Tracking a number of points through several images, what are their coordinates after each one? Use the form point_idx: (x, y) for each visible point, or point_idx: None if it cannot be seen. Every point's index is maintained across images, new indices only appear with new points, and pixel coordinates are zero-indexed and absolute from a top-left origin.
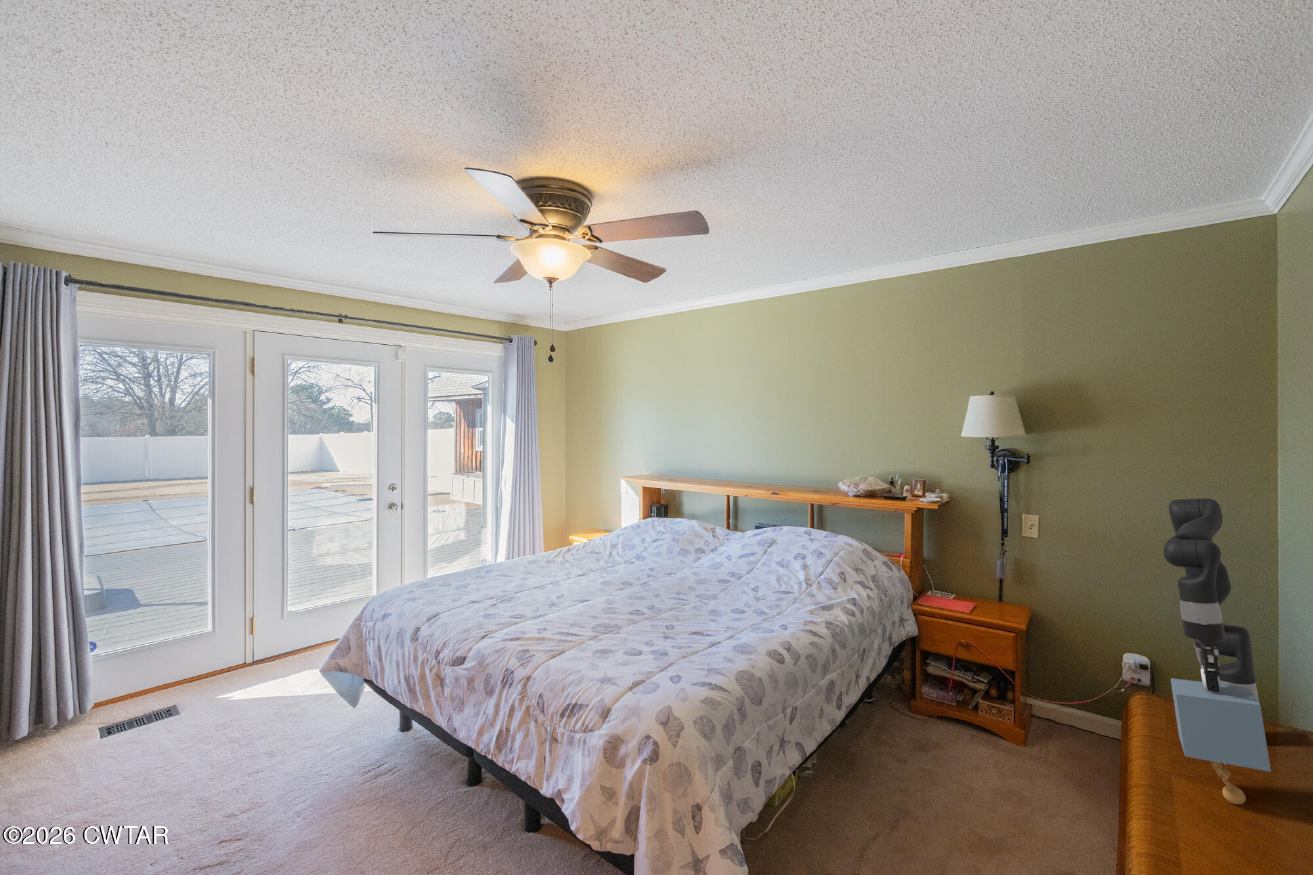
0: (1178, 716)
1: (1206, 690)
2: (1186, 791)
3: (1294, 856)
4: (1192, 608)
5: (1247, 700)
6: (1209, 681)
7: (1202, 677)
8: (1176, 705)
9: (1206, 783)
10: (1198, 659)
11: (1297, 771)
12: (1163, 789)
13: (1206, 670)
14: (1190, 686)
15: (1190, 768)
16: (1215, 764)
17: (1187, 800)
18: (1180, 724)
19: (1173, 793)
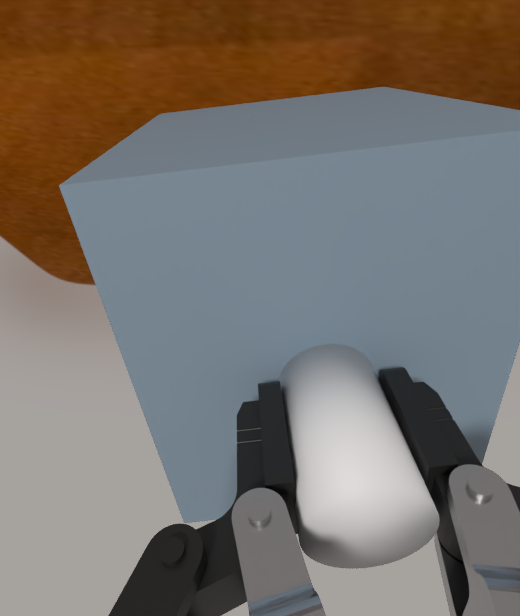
0: (208, 129)
1: (292, 363)
2: (266, 82)
3: (81, 274)
4: None
5: (228, 493)
6: (238, 461)
7: (329, 427)
8: (247, 133)
9: None
10: (489, 602)
11: None
12: (239, 14)
13: (118, 609)
14: (369, 275)
15: (444, 91)
16: None
17: (205, 85)
18: (135, 134)
19: (228, 45)
